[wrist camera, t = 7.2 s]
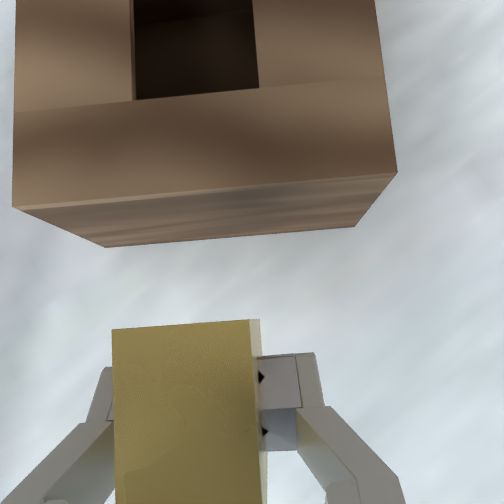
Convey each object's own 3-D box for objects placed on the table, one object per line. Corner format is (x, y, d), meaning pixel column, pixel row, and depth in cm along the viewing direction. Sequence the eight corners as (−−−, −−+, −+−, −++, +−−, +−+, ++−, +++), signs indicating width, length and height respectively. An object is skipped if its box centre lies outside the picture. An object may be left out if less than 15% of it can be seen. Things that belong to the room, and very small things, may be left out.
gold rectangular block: (267, 427, 16) (266, 563, 7) (200, 432, 16) (117, 571, 7) (259, 318, 17) (249, 318, 8) (195, 323, 17) (111, 329, 8)
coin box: (354, 226, 27) (397, 172, 17) (105, 247, 28) (11, 206, 18) (328, 1, 30) (353, -157, 20) (101, 26, 31) (18, -115, 21)
